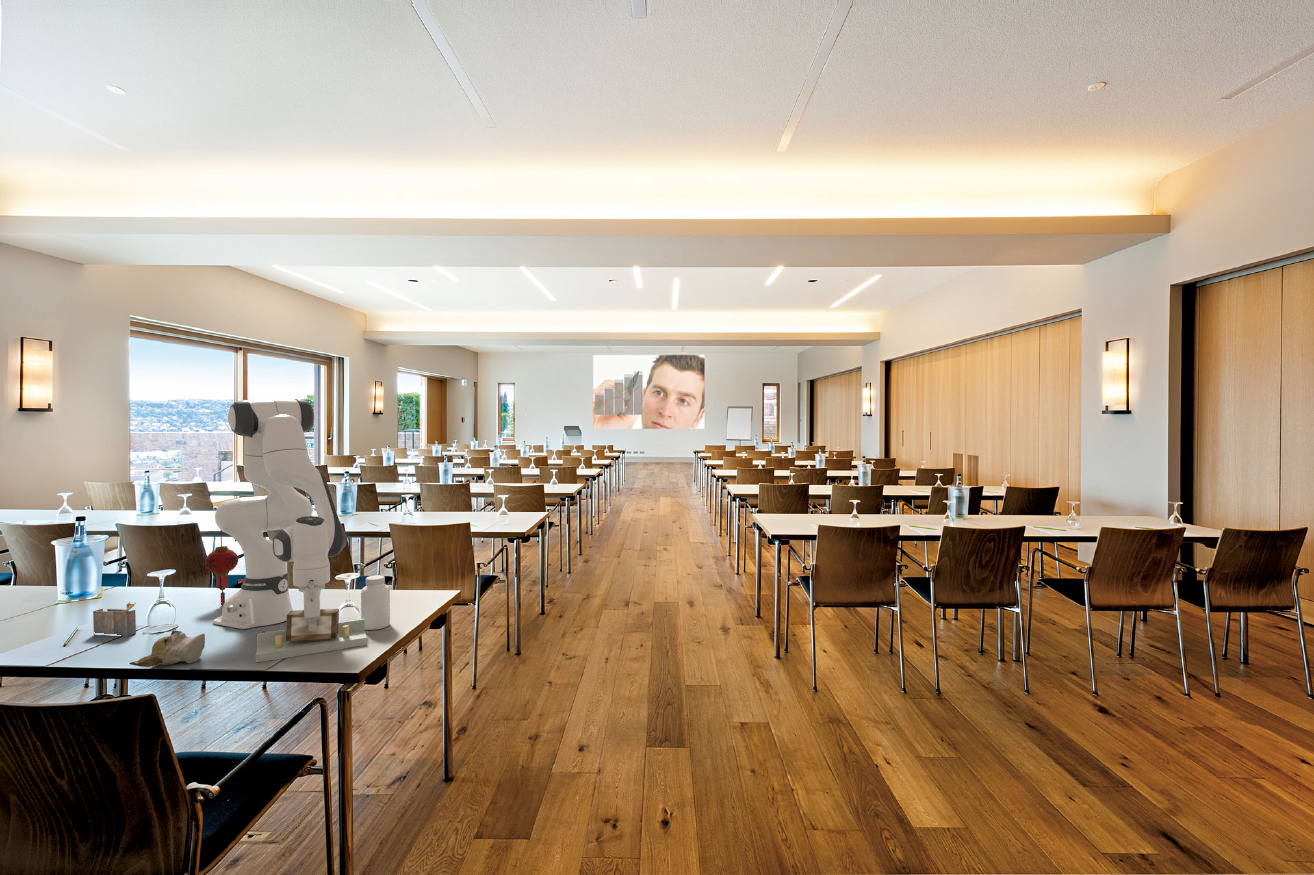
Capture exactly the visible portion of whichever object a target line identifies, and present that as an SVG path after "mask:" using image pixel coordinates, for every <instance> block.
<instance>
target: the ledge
mask: <svg viewBox="0 0 1314 875" xmlns="http://www.w3.org/2000/svg"><path fill="white" fill-rule="evenodd" d="M367 638H368V637H367V634H366V631H365V619H361V618H357V619H352V620H350V619H349V620H345V621H343V620H342V621H339V628H338V635H337V637H336V638H331V639H314V640H297V641H286V629H281V630H280V629H279V630H275V631H274V630H273V631H267V632H266V631H265V632H260V633H259V632H258V633H257V648H256V653H255V663H263V662H268V661H274V660H282V659H285V658H286V659H287V658H293V657H299V656H300V657H301V656H305V655H306V656H307V655H312V654H313V655H314V654H317V653H319V654H320V653H325V652H329V651H336V650H343V649H349V648H355V647H361V646H367V643H368V641H367Z"/></svg>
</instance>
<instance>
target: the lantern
mask: <svg viewBox="0 0 1314 875" xmlns="http://www.w3.org/2000/svg"><path fill="white" fill-rule="evenodd" d="M222 532H223V531H222V530H221V529H220V546H216V547H215V549H214V550H213V551H212V552H210V553H208V555H207V556H206V558H205V560H204V565H205V567H206V569H207V570H208V571H209V572H210V573H213V574H215V576H216V589H218V590H220V606H221V605H224V603H225V602H226V593H225V592H224V590H225V589H226V588H229V577H228V576H229V573H230V572H231V571H233V570H234V569H235V568H236V566H238V564H239V556H238V554H237V553H236V552H235V551H234V550H232V549H230V548H229V547H228V546H226V545H223V543H222V542H223V541H222V540H223V538H222V537H223V536H222Z"/></svg>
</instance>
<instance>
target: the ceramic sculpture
mask: <svg viewBox="0 0 1314 875" xmlns="http://www.w3.org/2000/svg"><path fill="white" fill-rule="evenodd" d="M205 644H206V635H205V633H201V634H198V635H196V636H187V635H186V633H185V632H183V631H181V630H172V631H171V633H170V635H169V634H168V635H165V636H162V637H160V638H158V639H157V640H156V641H155V642H154V643H153V645H152V649H151V653H150V654H149V655H147V656H144V657H141V658H140V659H138V660H136V661H131V662H129V665H132V666H135V667H136V666H137V667H142V668H151V667H155V666H157V665H162V666H168V665H175V664H177V663H180V662H185V663H187V664H192V663H196V662H198V661H199V659H200V658H201V656H202V654H203V651H204V648H205Z"/></svg>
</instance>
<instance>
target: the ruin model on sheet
mask: <svg viewBox="0 0 1314 875" xmlns="http://www.w3.org/2000/svg"><path fill="white" fill-rule="evenodd" d="M135 605H136V602H134V603H131V601H129V602H128V603H126V609H125V608H124V609H123V608H121V609H120V608H107V609H106V610H104V609H103V608H99V609H96V610H92V619H93V621H92V623H93V633H94V632H95V633H104V634H117V635H121V636H129V637H131V635H132V636H134V635H133V634H135V635H137V623H136V622H137V621H136V618H137V617H136V609H132V608H134V607H135ZM131 609H132V610H131Z"/></svg>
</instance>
